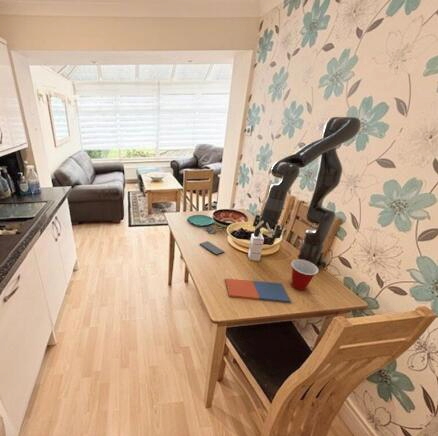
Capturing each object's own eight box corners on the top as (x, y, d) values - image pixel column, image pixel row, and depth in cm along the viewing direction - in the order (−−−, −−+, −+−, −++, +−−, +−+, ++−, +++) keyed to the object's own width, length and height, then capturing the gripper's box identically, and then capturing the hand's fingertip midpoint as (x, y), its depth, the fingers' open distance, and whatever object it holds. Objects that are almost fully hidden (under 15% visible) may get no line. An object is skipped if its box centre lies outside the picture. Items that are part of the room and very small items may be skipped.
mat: (280, 285, 116) (281, 283, 115) (290, 302, 105) (290, 301, 104) (225, 280, 119) (225, 278, 119) (229, 296, 108) (229, 295, 108)
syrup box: (260, 261, 134) (265, 238, 128) (249, 260, 135) (253, 237, 130) (257, 255, 139) (262, 233, 134) (247, 254, 140) (251, 233, 135)
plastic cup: (286, 290, 112) (292, 269, 107) (284, 277, 121) (290, 257, 116) (313, 297, 108) (320, 275, 103) (309, 283, 117) (316, 262, 112)
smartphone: (207, 241, 154) (224, 251, 142) (207, 242, 154) (224, 252, 142) (199, 243, 151) (216, 254, 139) (199, 244, 151) (216, 255, 139)
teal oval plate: (204, 215, 195) (204, 212, 194) (228, 230, 169) (228, 227, 168) (183, 219, 188) (183, 216, 187) (204, 235, 163) (205, 232, 162)
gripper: (293, 213, 100) (281, 247, 106) (267, 202, 113) (257, 233, 118) (279, 213, 98) (268, 248, 104) (254, 202, 110) (245, 234, 116)
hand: (262, 240), depth 111 cm, fingers open, 8 cm apart
